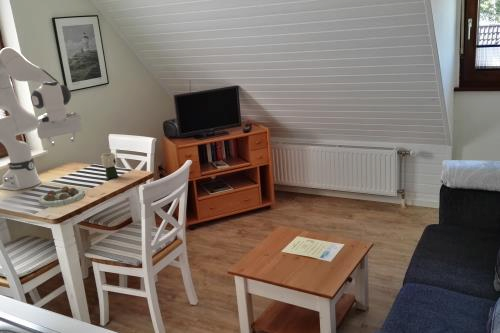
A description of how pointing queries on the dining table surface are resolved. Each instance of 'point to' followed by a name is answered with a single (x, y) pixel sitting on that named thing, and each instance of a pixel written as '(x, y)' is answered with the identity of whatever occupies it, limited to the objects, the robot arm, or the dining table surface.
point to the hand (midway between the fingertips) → (63, 143)
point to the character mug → (109, 165)
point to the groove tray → (58, 202)
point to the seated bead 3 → (63, 196)
